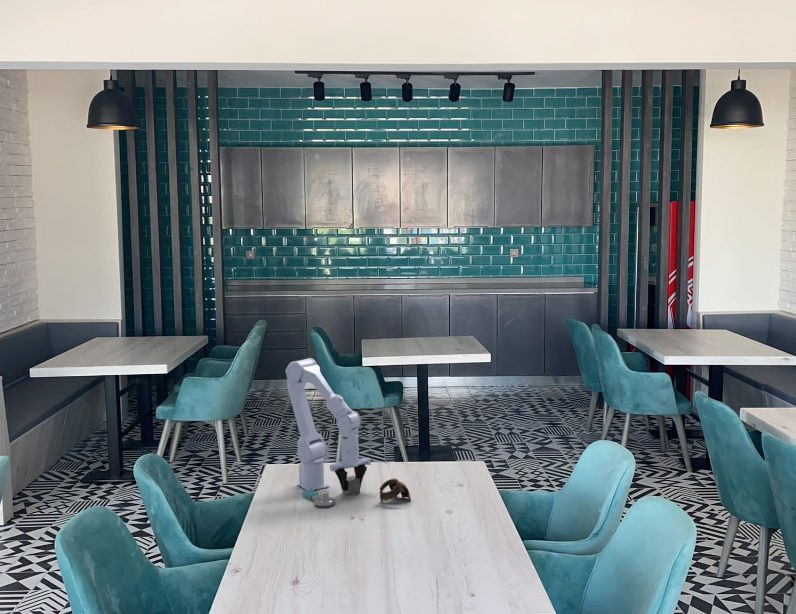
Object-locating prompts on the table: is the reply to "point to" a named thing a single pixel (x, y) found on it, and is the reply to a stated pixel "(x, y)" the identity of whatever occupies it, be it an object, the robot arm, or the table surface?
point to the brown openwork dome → (394, 490)
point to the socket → (352, 485)
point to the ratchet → (320, 498)
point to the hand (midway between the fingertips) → (351, 488)
